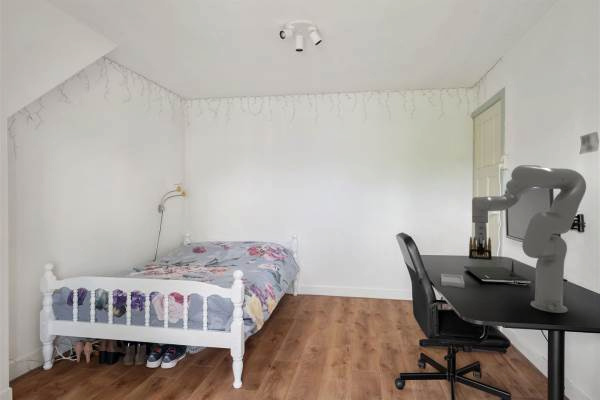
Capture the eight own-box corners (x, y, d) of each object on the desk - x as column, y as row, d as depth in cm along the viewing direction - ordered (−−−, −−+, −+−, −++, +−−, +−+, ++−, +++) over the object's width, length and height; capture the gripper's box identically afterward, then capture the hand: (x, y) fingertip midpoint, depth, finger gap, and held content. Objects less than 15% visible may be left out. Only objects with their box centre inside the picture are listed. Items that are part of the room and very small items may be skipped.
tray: (464, 288, 170) (464, 283, 170) (441, 285, 175) (441, 281, 175) (462, 279, 187) (462, 275, 187) (441, 277, 191) (441, 273, 191)
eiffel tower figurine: (498, 283, 181) (498, 259, 181) (495, 279, 190) (495, 256, 190) (530, 286, 175) (531, 262, 175) (525, 282, 185) (526, 258, 184)
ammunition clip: (469, 258, 177) (469, 236, 177) (468, 258, 178) (468, 236, 178) (491, 260, 173) (491, 237, 173) (491, 259, 174) (491, 236, 174)
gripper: (490, 220, 167) (490, 257, 167) (486, 219, 181) (486, 252, 181) (473, 220, 170) (473, 256, 170) (470, 219, 184) (471, 251, 184)
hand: (480, 253), depth 175 cm, fingers closed on ammunition clip, 2 cm apart
